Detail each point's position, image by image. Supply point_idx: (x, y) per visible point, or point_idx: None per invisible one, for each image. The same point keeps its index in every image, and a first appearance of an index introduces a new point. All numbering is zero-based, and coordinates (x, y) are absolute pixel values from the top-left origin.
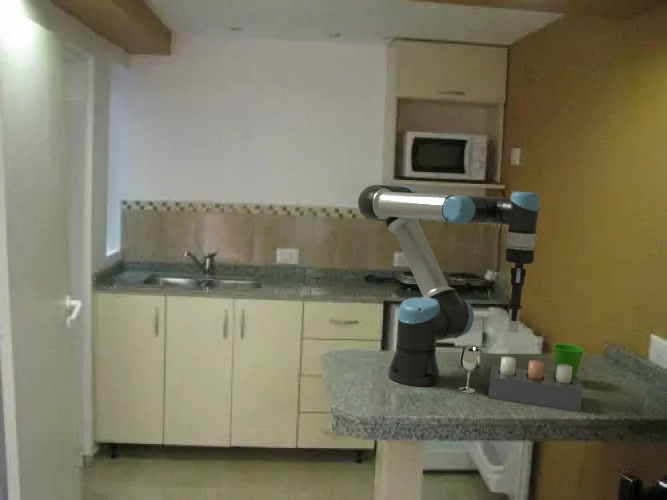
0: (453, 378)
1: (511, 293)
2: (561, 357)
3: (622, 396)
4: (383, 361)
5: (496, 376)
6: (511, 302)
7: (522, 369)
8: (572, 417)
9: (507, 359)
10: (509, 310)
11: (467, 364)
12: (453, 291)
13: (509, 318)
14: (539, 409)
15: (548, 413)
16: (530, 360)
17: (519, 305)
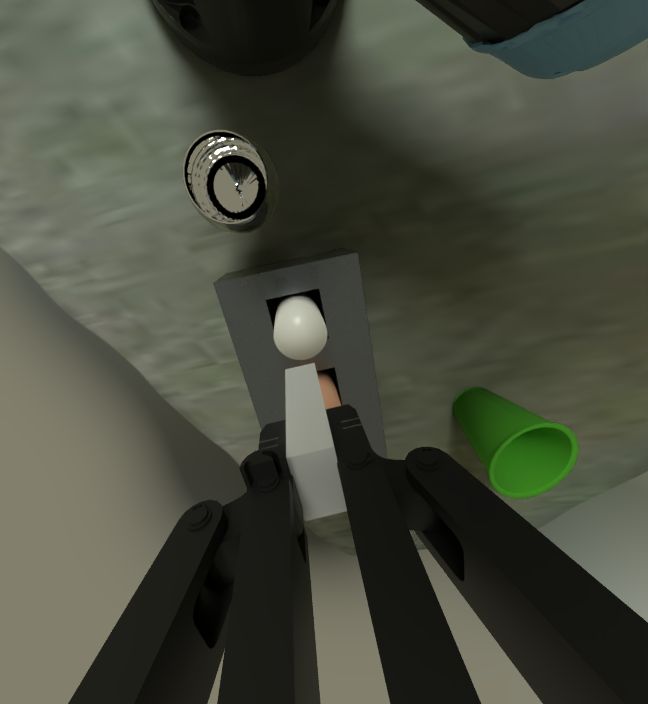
0: (337, 119)
1: (479, 547)
2: (486, 437)
3: None
4: None
5: (233, 299)
6: (150, 572)
7: (368, 349)
8: (236, 456)
9: (284, 334)
10: (326, 433)
11: (191, 187)
12: None
13: (286, 414)
14: (235, 396)
15: (223, 416)
16: (329, 399)
17: (198, 598)
